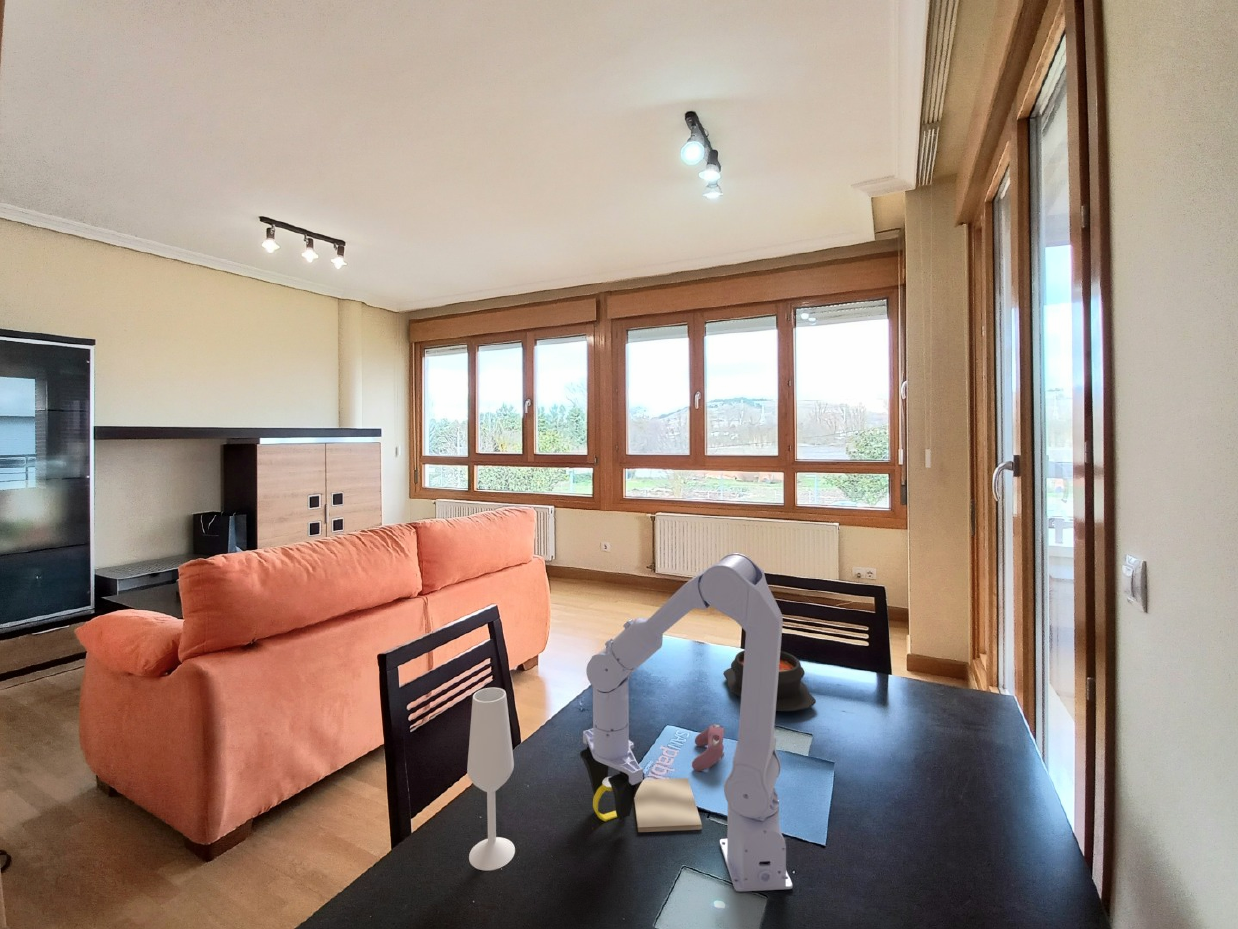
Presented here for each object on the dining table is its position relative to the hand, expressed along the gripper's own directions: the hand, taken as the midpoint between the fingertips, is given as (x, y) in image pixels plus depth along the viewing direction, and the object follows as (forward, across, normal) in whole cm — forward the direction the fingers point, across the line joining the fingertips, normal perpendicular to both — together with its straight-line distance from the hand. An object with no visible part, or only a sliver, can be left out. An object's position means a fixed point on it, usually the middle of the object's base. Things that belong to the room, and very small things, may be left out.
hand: (611, 804), depth 91 cm
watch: (+2, 0, 0) cm, 2 cm away
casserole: (+2, +15, -55) cm, 57 cm away
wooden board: (+2, -3, -9) cm, 9 cm away
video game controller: (+2, +3, -24) cm, 25 cm away
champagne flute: (+2, +3, +19) cm, 19 cm away
